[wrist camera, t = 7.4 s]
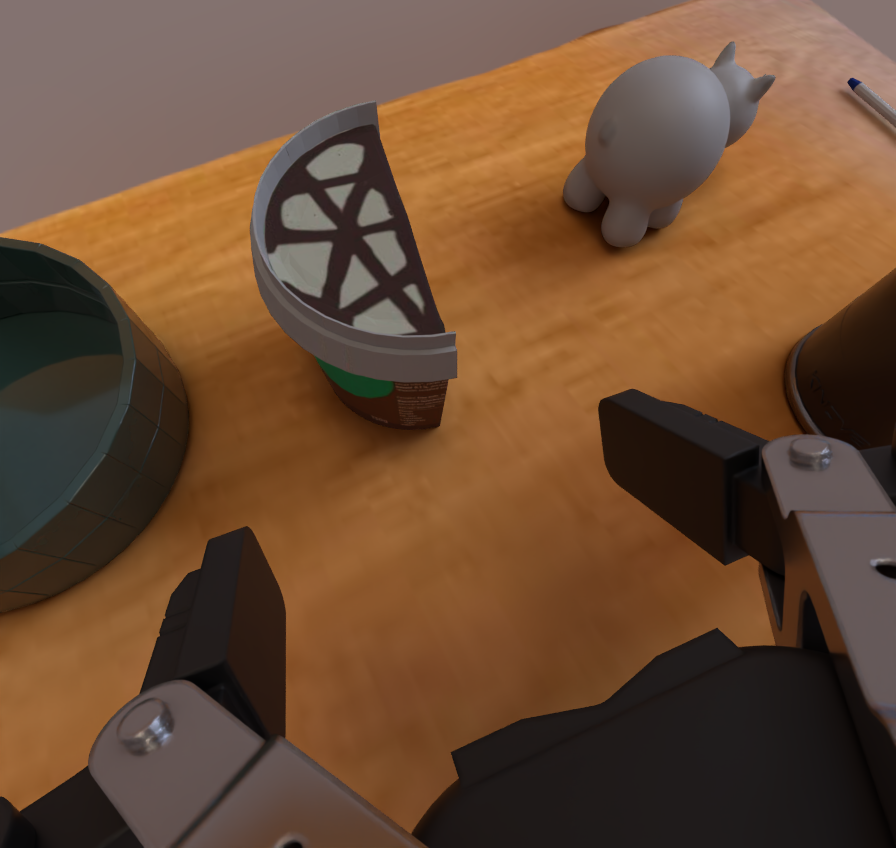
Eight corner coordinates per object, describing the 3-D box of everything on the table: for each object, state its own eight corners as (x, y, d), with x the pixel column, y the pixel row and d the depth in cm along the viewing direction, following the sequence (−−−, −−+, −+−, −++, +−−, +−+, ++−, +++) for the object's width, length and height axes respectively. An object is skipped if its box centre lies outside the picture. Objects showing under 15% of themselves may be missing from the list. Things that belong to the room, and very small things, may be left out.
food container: (283, 282, 29) (216, 114, 19) (389, 261, 30) (372, 91, 20) (325, 485, 24) (262, 392, 15) (448, 452, 25) (460, 347, 16)
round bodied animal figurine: (756, 199, 33) (860, 61, 25) (610, 271, 30) (677, 141, 22) (683, 130, 35) (757, -16, 27) (541, 191, 32) (579, 47, 24)
